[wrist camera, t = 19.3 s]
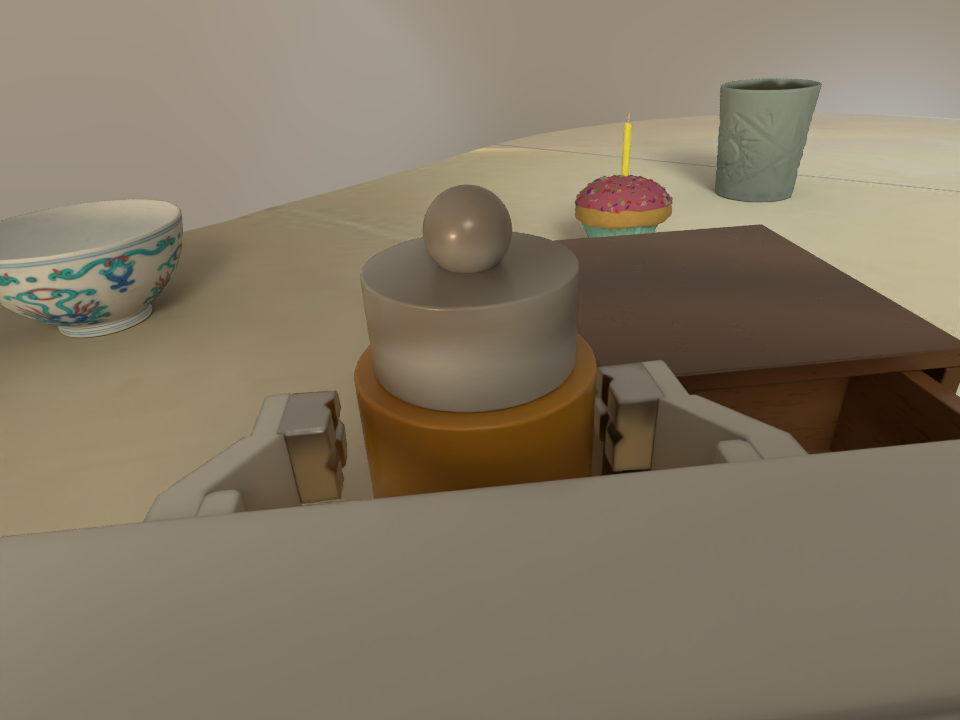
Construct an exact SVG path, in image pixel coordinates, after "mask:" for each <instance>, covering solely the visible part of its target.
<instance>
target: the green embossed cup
mask: <svg viewBox="0 0 960 720" xmlns="http://www.w3.org/2000/svg"><path fill="white" fill-rule="evenodd" d="M821 85H822V84H821V83H820V82H816V81H811V80H801V79H750V80H740V81H732V82H728V83H725V84H722V86H721V90H720V126H719V136H718V144H719V145H718V155H717V171H716V183H715V190H716V193H717V194H718V195H720V196H722V197H725V198H729V199H733V200H739V201H749V202H770V201H779V200H784V199H786V198H789V197H791V195H792V192H793V189H794V185H795V181H796V178H797V168H798V167H799V165H800V160H801V158H802V156H803V149H804V146H805V144H806V140H807V134H808V131H809V126H810V122H811V120H812V115H813V112H814V109H815V106H816V103H817V99H818V96H819V92H820V89H821Z"/></svg>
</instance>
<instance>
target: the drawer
mask: <svg viewBox="0 0 960 720" xmlns="http://www.w3.org/2000/svg"><path fill="white" fill-rule="evenodd" d="M688 394H689V395H698V396H700V397H703V398H705V399H708V400H710V401H712V402H715V403H717V404H720V405H722V406H724V407H727V408H729V409H732V410H734V411H736V412H739V413H741V414H744V415H746V416H749V417H751V418H753V419H756V420H758V421H761V422H763V423H765V424H768V425H770V426H773V427H775V428H777V429H780V430H782V431H785V432H787V433H790V434H791V436H792V437H793V438H794V439H795V440H796V441H797V442H798V443H799V444H800V445H801V447H802V448H803V449H804V450H805V451H806V452H807V453H808V454H809V455H810V454H820V453H830V452H839V451H849V450H859V449H869V448H879V447H889V446H899V445H908V444H918V443H928V442H938V441H948V440H958V439H960V397H959V396H957V395H956V394H954V393H953V392H952V391H950V390H949V389H947V388H946V387H944V386H943V385H941V384H940V383H938V382H937V381H936V380H934V379H933V378H931V377H930V376H928V375H927V374H925V373H924V372H922V371H921V370H914V371H904V372H893V373H882V374H872V375H861V376H851V377H840V378H829V379H819V380H808V381H798V382H787V383H776V384H766V385H755V386H745V387H734V388H723V389H713V390H702V391H692V392H688ZM643 471H652V470H651V469H638V470H624V471H622V474H623V473H633V472H643Z"/></svg>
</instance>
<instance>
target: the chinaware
mask: <svg viewBox="0 0 960 720" xmlns="http://www.w3.org/2000/svg"><path fill="white" fill-rule="evenodd" d="M182 226H183V225H182V214H181V210H180V208H179V207H178V206H177V205H175V204H173V203H170V202H165V201H160V200H148V199H123V200H108V201H97V202H89V203H82V204H74V205H68V206H62V207H56V208H51V209H46V210H41V211H37V212H32V213H27V214H24V215H19V216H15V217H12V218H8V219H5V220H1V221H0V304H1V305H2V306H4V307H6V308H7V309H9V310H11V311H13V312H15V313H17V314H20V315H22V316H24V317H27V318H30V319H33V320H36V321H39V322H43V323H47V324H52V325H57V327H58V329H59V331H60V332H61V333H62V334H64V335H66V336H70V337H80V338H82V337H95V336H102V335H107V334H111V333H115V332H118V331H121V330H124V329H127V328H130V327H132V326H134V325H136V324H138V323H140V322H142V321H143V320H145V319H146V318H147V317H148V316H149V315H150V314H151V312H152V305H151V302H152V301H153V300H154V299H155V298H156V297H157V296H158V295H159V294H160V293H161V292H162V290H163V289H164V288H165V287H166V285H167V284H168V282H169V281H170V279H171V277H172V276H173V274H174V272H175V269H176V267H177V264H178V261H179V258H180V253H181V248H182V237H183V227H182Z"/></svg>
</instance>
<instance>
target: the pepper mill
mask: <svg viewBox="0 0 960 720" xmlns="http://www.w3.org/2000/svg"><path fill="white" fill-rule="evenodd" d="M360 280H361V287H362V293H363V300H364V307H365V314H366V320H367V327H368V334H369V340H370V346H368V347H367V349H366V350H365V351H364V352H363V353H362V355H361V357H360V358H359V360H358V362H357V365H356V369H355V372H354V382H355V387H356V393H357V399H358V405H359V411H360V417H361V423H362V429H363V435H364V441H365V447H366V453H367V459H368V464H369V470H370V476H371V482H372V488H373V494H374V499H377V498H386V497H396V496H406V495H416V494H426V493H436V492H446V491H456V490H465V489H475V488H485V487H495V486H505V485H515V484H525V483H535V482H544V481H554V480H564V479H574V478H584V477H591V468H592V448H593V429H594V410H595V390H596V371H597V365H596V358H595V356H594V353H593V351H592V349H591V347H590V346H589V344H588V343H587V342H586V341H585V340H584V339H583V338H582V337H581V336H580V335H579V334H578V333H577V317H578V287H579V262H578V260H577V258H576V256H575V255H574V253H573V252H572V251H571V250H569V249H568V248H567V247H565V246H563V245H561V244H559V243H557V242H555V241H552V240H549V239H546V238H543V237H539V236H534V235H530V234H524V233H517V232H512V223H511V219H510V215H509V213H508V210H507V209H506V207H505V205H504V204H503V202H502V201H501V200H500V199H499V198H498V197H497V196H496V195H495V194H493V193H492V192H491V191H489V190H487V189H485V188H482V187H480V186H475V185H459V186H455V187H452V188H449V189H448V190H446V191H444V192H442V193H441V194H440V195H438V196H437V197H436V198H435V199H434V201H433V202H432V203H431V205H430V206H429V208H428V210H427V212H426V215H425V218H424V222H423V237H421V238H416V239H413V240H409V241H406V242H403V243H400V244H397V245H394V246H392V247H390V248H387V249H385V250H383V251H381V252H380V253H378V254H376V255H375V256H373V257H372V258H371V259H370V260H369V261H367V262H366V264H365V265H364V267H363V269H362V271H361V274H360Z"/></svg>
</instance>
